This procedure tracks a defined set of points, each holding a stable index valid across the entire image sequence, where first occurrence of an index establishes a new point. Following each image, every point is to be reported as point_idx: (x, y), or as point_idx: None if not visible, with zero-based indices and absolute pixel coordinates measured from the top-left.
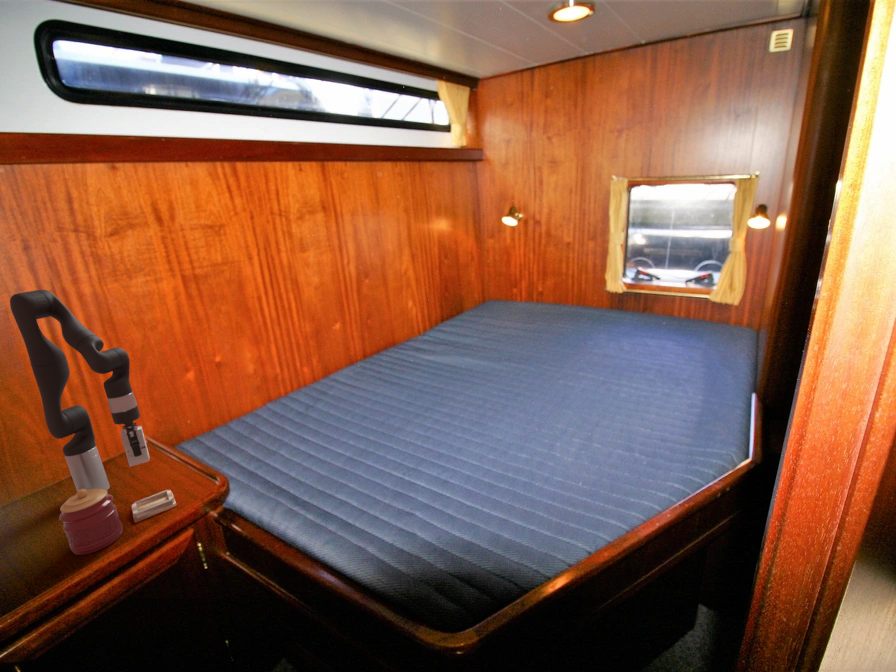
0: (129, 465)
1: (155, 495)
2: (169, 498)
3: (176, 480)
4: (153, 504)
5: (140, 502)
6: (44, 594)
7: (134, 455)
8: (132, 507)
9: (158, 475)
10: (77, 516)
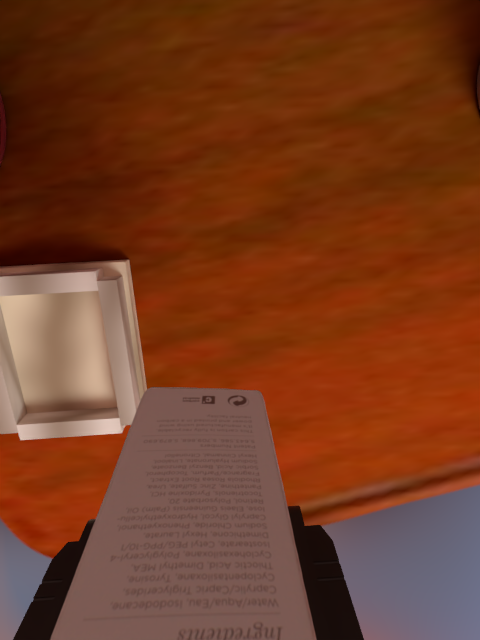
0: (143, 396)
1: (114, 374)
2: (26, 426)
3: (285, 435)
4: (74, 351)
5: (104, 308)
6: None
7: (86, 532)
8: (58, 275)
9: (423, 372)
10: None
